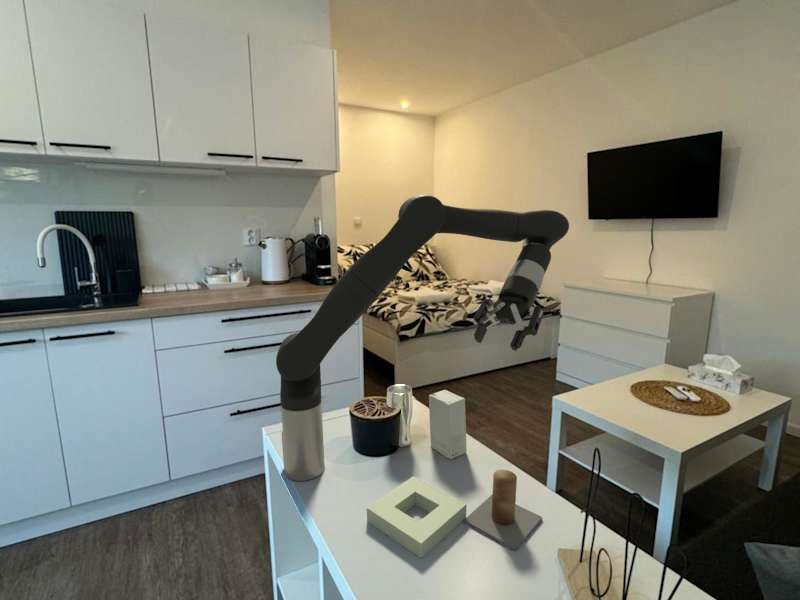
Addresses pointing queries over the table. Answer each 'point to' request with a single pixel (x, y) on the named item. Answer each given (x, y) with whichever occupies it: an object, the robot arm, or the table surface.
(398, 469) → the table surface
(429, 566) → the table surface
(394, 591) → the table surface
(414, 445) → the table surface
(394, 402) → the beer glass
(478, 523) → the rubber mat
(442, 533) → the collar block
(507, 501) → the walnut pin
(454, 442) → the skincare box
